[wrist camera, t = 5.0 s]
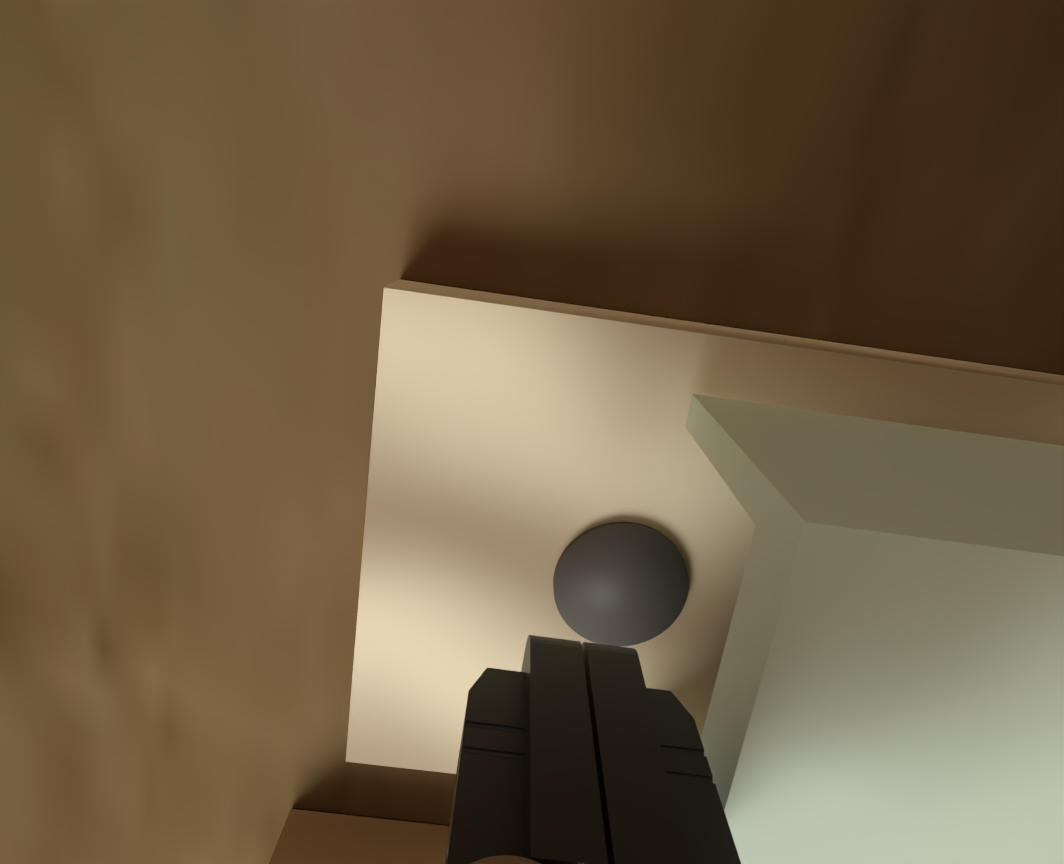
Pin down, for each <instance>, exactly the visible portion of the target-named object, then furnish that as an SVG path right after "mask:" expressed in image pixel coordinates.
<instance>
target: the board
mask: <svg viewBox="0 0 1064 864" xmlns="http://www.w3.org/2000/svg"><path fill="white" fill-rule="evenodd" d="M692 394H697V395H704V396H711V397H718V398H725V399H733V400H740V401H747V402H754V403H761V404H768V405H775V406H783V407H790V408H797V409H804V410H811V411H818V412H825V413H833V414H840V415H847V416H854V417H861V418H868V419H876V420H883V421H890V422H897V423H904V424H911V425H918V426H926V427H933V428H940V429H947V430H954V431H961V432H968V433H976V434H983V435H990V436H997V437H1004V438H1011V439H1018V440H1026V441H1033V442H1040V443H1047V444H1054V445H1061V446H1064V375H1057V374H1050V373H1043V372H1036V371H1029V370H1022V369H1015V368H1008V367H1001V366H995V365H988V364H981V363H974V362H967V361H960V360H953V359H946V358H939V357H932V356H925V355H919V354H912V353H905V352H898V351H891V350H884V349H877V348H870V347H863V346H856V345H849V344H843V343H836V342H829V341H822V340H815V339H808V338H801V337H794V336H787V335H780V334H773V333H766V332H760V331H753V330H746V329H739V328H732V327H725V326H718V325H711V324H704V323H697V322H690V321H684V320H677V319H670V318H663V317H656V316H649V315H642V314H635V313H628V312H621V311H614V310H608V309H601V308H594V307H587V306H580V305H573V304H566V303H559V302H552V301H545V300H538V299H531V298H525V297H518V296H511V295H504V294H497V293H490V292H483V291H476V290H469V289H462V288H455V287H449V286H442V285H435V284H428V283H421V282H414V281H407V280H400V279H399V280H397V281H395V282H393V283H392V284H390V285H388V286H386V287H384V293H383V305H382V318H381V330H380V342H379V355H378V367H377V379H376V392H375V404H374V417H373V429H372V441H371V454H370V466H369V479H368V491H367V503H366V516H365V528H364V540H363V553H362V565H361V578H360V590H359V602H358V615H357V627H356V639H355V652H354V664H353V677H352V689H351V701H350V714H349V726H348V739H347V751H346V762H354V763H363V764H372V765H380V766H389V767H398V768H407V769H416V770H425V771H434V772H442V773H451V774H456V771H457V764H458V758H459V751H460V744H461V738H462V731H463V725H464V718H465V711H466V705H467V698H468V692H469V690H470V688H471V687H472V686H473V685H474V683H475V682H476V681H477V680H478V678H479V677H480V676H481V675H482V673H483V672H484V671H485V670H486V668H495V669H503V670H510V671H518V672H521V669H522V663H523V658H524V652H525V647H526V642H527V638H528V636H529V635H535V636H542V637H550V638H557V639H565V640H573V641H580V642H581V645H582V643H583V642H589V643H597V644H604V645H612V646H620V647H627V648H635V649H636V651H637V653H638V656H639V660H640V664H641V669H642V673H643V677H644V681H645V685H646V688H652V689H660V690H668V691H671V692H672V693H673V694H674V695H675V696H676V698H677V699H678V700H679V701H680V702H681V704H682V705H683V706H684V707H685V708H686V710H687V711H688V712H689V713H690V714H691V716H692V717H693V718H694V720H695V723H696V726H697V729H698V732H699V735H700V738H701V736H702V732H703V728H704V724H705V721H706V717H707V713H708V709H709V705H710V701H711V697H712V694H713V690H714V686H715V682H716V678H717V674H718V670H719V667H720V663H721V659H722V655H723V651H724V647H725V643H726V639H727V636H728V632H729V628H730V624H731V620H732V616H733V612H734V609H735V605H736V601H737V597H738V593H739V589H740V585H741V582H742V578H743V574H744V570H745V566H746V562H747V558H748V554H749V551H750V547H751V543H752V539H753V535H754V531H755V527H756V525H755V524H754V522H753V521H752V519H751V518H750V517H749V515H748V514H747V512H746V511H745V510H744V508H743V507H742V505H741V504H740V503H739V501H738V500H737V498H736V497H735V496H734V494H733V493H732V491H731V490H730V489H729V487H728V486H727V484H726V483H725V482H724V480H723V479H722V477H721V476H720V475H719V473H718V472H717V471H716V469H715V468H714V466H713V465H712V464H711V462H710V461H709V459H708V458H707V457H706V455H705V454H704V452H703V451H702V450H701V448H700V447H699V445H698V444H697V443H696V441H695V440H694V438H693V437H692V436H691V434H690V433H689V431H688V430H687V429H686V427H685V425H686V420H687V416H688V411H689V407H690V402H691V397H692Z"/></svg>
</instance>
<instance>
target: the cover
mask: <svg viewBox="0 0 1064 864" xmlns="http://www.w3.org/2000/svg"><path fill="white" fill-rule="evenodd" d="M685 427H686V429H687V430H688V431H689V433H690V434H691V436H692V437H693V438H694V440H695V441H696V443H697V444H698V445H699V447H700V448H701V450H702V451H703V452H704V454H705V455H706V457H707V458H708V459H709V461H710V462H711V464H712V465H713V466H714V468H715V469H716V471H717V472H718V473H719V475H720V476H721V477H722V479H723V480H724V482H725V483H726V484H727V486H728V487H729V489H730V490H731V491H732V493H733V494H734V496H735V497H736V498H737V500H738V501H739V503H740V504H741V505H742V507H743V508H744V510H745V511H746V512H747V514H748V515H749V517H750V518H751V519H752V521H753V522H754V524H755V525H756V527H755V531H754V535H753V539H752V543H751V547H750V551H749V554H748V558H747V562H746V566H745V570H744V574H743V578H742V582H741V585H740V589H739V593H738V597H737V601H736V605H735V609H734V612H733V616H732V620H731V624H730V628H729V632H728V636H727V639H726V643H725V647H724V651H723V655H722V659H721V663H720V667H719V670H718V674H717V678H716V682H715V686H714V690H713V694H712V697H711V701H710V705H709V709H708V713H707V717H706V721H705V724H704V728H703V732H702V736H701V741H702V744H703V747H704V756H706V757H707V760H708V763H709V766H710V769H711V772H712V775H713V783H715V784H716V787H717V791H718V794H719V797H720V800H721V803H722V806H723V809H724V812H725V815H726V818H727V821H728V825H729V828H730V831H731V834H732V837H733V840H734V843H735V846H736V849H737V852H738V855H739V859H740V862H741V864H1064V446H1061V445H1054V444H1047V443H1040V442H1033V441H1026V440H1018V439H1011V438H1004V437H997V436H990V435H983V434H976V433H968V432H961V431H954V430H947V429H940V428H933V427H926V426H918V425H911V424H904V423H897V422H890V421H883V420H876V419H868V418H861V417H854V416H847V415H840V414H833V413H825V412H818V411H811V410H804V409H797V408H790V407H783V406H775V405H768V404H761V403H754V402H747V401H740V400H733V399H725V398H718V397H711V396H704V395H697V394H692V397H691V402H690V407H689V411H688V416H687V420H686V425H685Z"/></svg>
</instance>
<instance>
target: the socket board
mask: <svg viewBox="0 0 1064 864" xmlns="http://www.w3.org/2000/svg"><path fill="white" fill-rule="evenodd" d="M448 831H449V826H444V825H435V824H425V823H416V822H407V821H398V820H389V819H380V818H371V817H362V816H352V815H343V814H334V813H325V812H316V811H307V810H298V809H291V810H290V812H289V815H288V817H287V820H286V823H285V825H284V828H283V830H282V833H281V835H280V838H279V840H278V843H277V845H276V848H275V850H274V853H273V855H272V858H271V860H270V863H269V864H444V862H445V855H446V847H447V839H448Z"/></svg>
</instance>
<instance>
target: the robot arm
mask: <svg viewBox="0 0 1064 864" xmlns="http://www.w3.org/2000/svg"><path fill="white" fill-rule="evenodd" d="M444 864H741V862H740V859H739V855H738V852H737V849H736V846H735V843H734V840H733V837H732V834H731V831H730V828H729V825H728V821H727V818H726V815H725V812H724V809H723V806H722V803H721V800H720V797H719V794H718V791H717V787H716V784H715V783H713V775H712V772H711V769H710V766H709V763H708V760H707V757H706V756H704V747H703V744H702V741H701V738H700V735H699V732H698V729H697V726H696V723H695V720H694V718H693V717H692V716H691V714H690V713H689V712H688V711H687V710H686V708H685V707H684V706H683V705H682V704H681V702H680V701H679V700H678V699H677V698H676V696H675V695H674V694H673V693H672V692H671V691H668V690H660V689H652V688H646V685H645V681H644V677H643V673H642V669H641V664H640V660H639V656H638V653H637V651H636V649H635V648H627V647H620V646H612V645H604V644H597V643H589V642H583V643H582V645H581V642H580V641H573V640H565V639H557V638H550V637H542V636H535V635H529V636H528V638H527V642H526V647H525V652H524V658H523V663H522V669H521V672H518V671H510V670H503V669H495V668H486V670H485V671H484V672H483V673H482V675H481V676H480V677H479V678H478V680H477V681H476V682H475V683H474V685H473V686H472V687H471V688H470V690H469V692H468V698H467V705H466V711H465V718H464V725H463V731H462V738H461V744H460V751H459V758H458V764H457V771H456V778H455V784H454V792H453V800H452V808H451V816H450V823H449V831H448V839H447V847H446V855H445V862H444Z"/></svg>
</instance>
